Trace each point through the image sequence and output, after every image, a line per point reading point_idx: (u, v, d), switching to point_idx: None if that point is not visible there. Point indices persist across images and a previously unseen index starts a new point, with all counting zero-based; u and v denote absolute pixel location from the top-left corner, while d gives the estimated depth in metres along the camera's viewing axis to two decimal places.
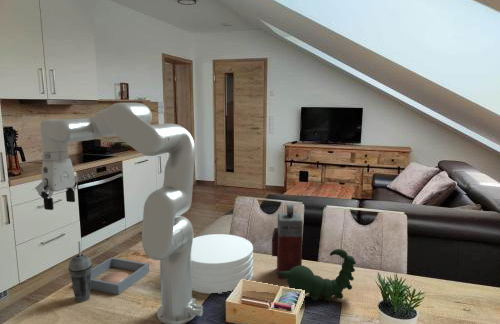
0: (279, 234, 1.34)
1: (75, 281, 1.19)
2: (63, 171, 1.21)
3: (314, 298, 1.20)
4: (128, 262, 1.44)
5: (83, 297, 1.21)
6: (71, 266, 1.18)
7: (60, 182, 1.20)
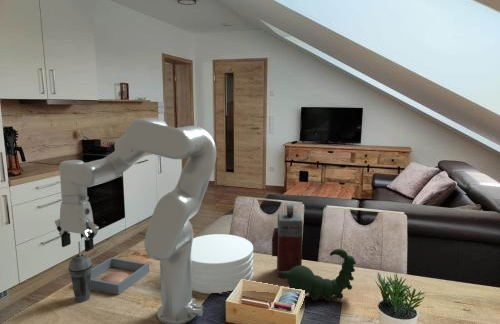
0: (279, 234, 1.34)
1: (75, 281, 1.19)
2: None
3: (314, 298, 1.20)
4: (128, 262, 1.44)
5: (83, 297, 1.21)
6: (71, 266, 1.18)
7: None
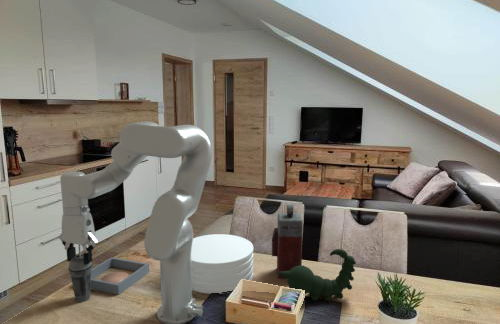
0: (279, 234, 1.34)
1: (75, 281, 1.19)
2: None
3: (314, 298, 1.20)
4: (128, 262, 1.44)
5: (83, 297, 1.21)
6: (71, 266, 1.18)
7: None
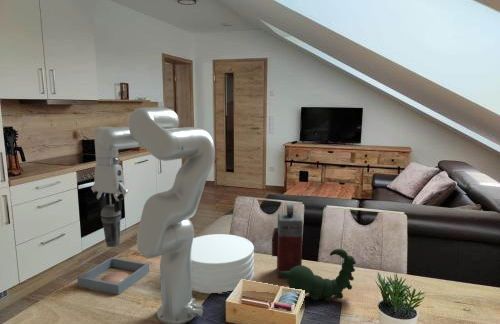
0: (279, 234, 1.34)
1: (106, 227, 1.30)
2: None
3: (314, 298, 1.20)
4: (128, 262, 1.44)
5: (113, 243, 1.32)
6: (103, 213, 1.29)
7: None
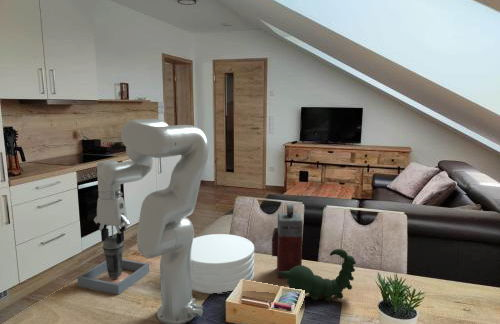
0: (279, 234, 1.34)
1: (108, 259, 1.32)
2: None
3: (314, 298, 1.20)
4: (128, 262, 1.44)
5: (115, 273, 1.34)
6: (105, 245, 1.31)
7: None
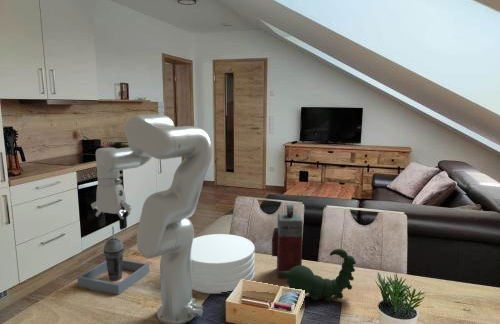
0: (279, 234, 1.34)
1: (109, 262, 1.33)
2: None
3: (314, 298, 1.20)
4: (128, 262, 1.44)
5: (116, 277, 1.34)
6: (106, 248, 1.32)
7: None
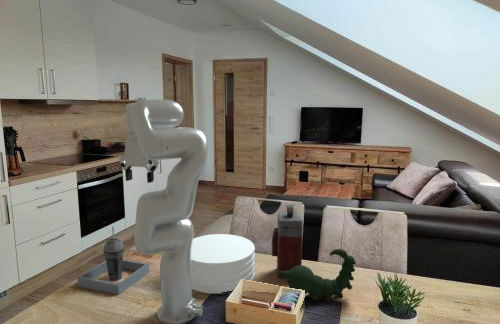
0: (279, 234, 1.34)
1: (109, 262, 1.33)
2: None
3: (314, 298, 1.20)
4: (128, 262, 1.44)
5: (116, 277, 1.34)
6: (106, 248, 1.32)
7: None
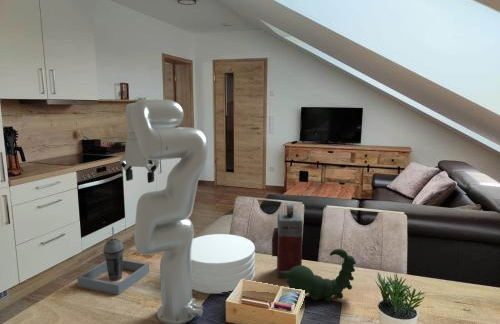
0: (279, 234, 1.34)
1: (109, 262, 1.32)
2: None
3: (314, 298, 1.20)
4: (128, 262, 1.44)
5: (116, 277, 1.34)
6: (106, 248, 1.31)
7: None
